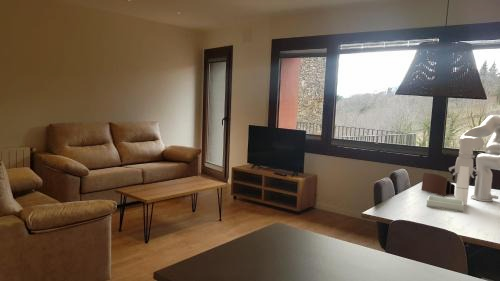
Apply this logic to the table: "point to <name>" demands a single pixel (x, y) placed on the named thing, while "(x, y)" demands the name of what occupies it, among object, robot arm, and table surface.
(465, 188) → the cylindrical container
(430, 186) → the letter holder
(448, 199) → the tray
